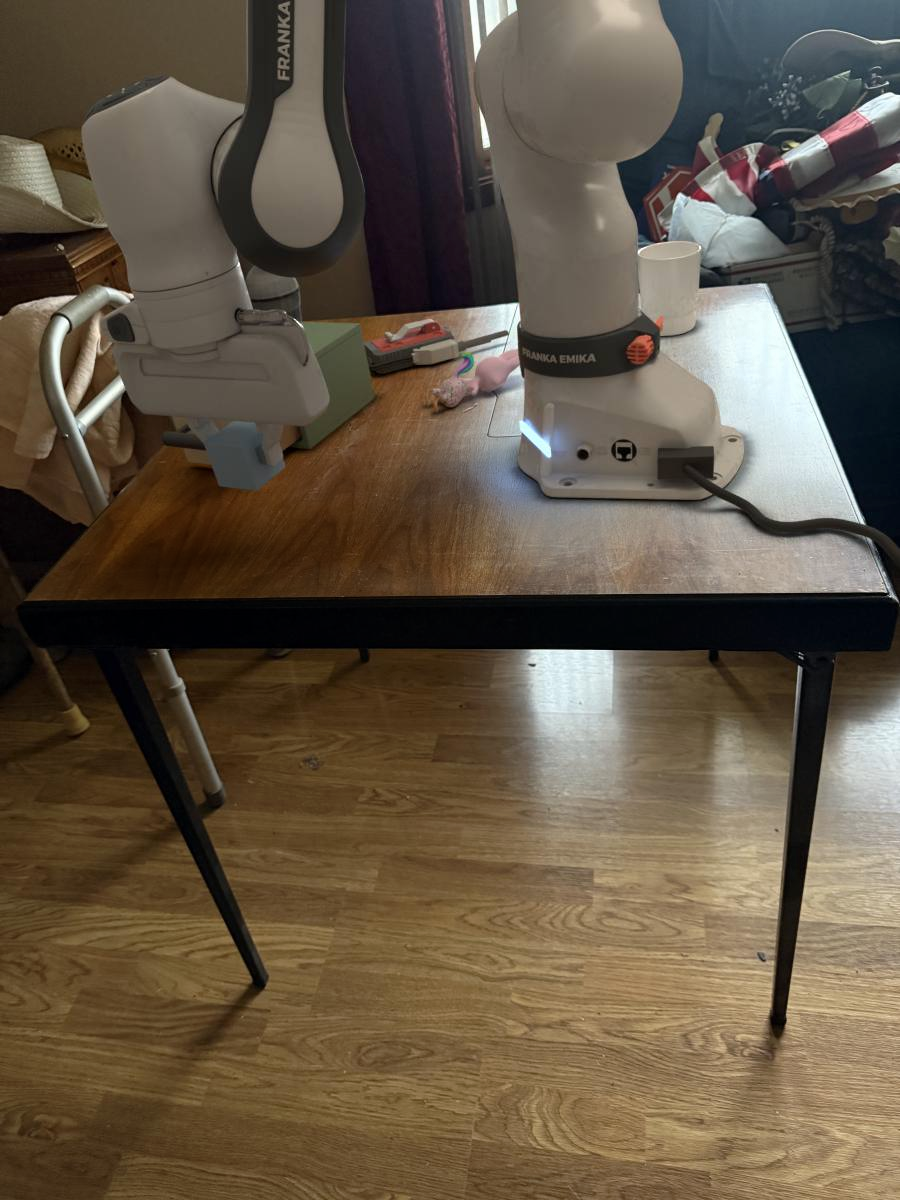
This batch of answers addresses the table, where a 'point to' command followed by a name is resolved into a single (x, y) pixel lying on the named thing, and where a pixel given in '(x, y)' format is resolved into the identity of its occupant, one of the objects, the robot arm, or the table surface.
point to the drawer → (196, 447)
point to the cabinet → (337, 376)
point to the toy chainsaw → (418, 346)
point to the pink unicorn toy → (486, 376)
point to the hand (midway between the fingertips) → (246, 459)
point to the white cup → (670, 284)
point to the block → (239, 457)
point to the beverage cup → (273, 292)
